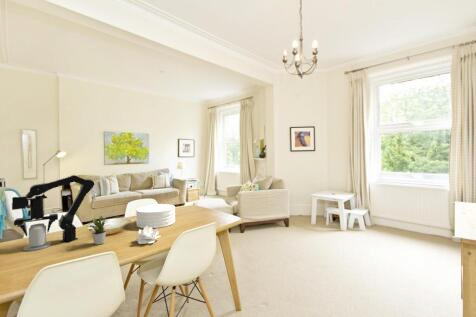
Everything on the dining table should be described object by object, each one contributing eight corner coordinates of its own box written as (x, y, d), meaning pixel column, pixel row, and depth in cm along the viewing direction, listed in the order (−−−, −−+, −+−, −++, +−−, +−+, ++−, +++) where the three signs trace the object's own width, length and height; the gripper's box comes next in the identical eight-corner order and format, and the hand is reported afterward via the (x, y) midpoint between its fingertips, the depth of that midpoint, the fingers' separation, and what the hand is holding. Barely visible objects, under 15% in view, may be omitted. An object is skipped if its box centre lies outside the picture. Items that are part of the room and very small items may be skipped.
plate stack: (182, 220, 185) (182, 206, 185) (152, 230, 161) (152, 214, 161) (159, 216, 200) (158, 202, 200) (128, 224, 176) (128, 209, 176)
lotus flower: (137, 247, 132) (137, 231, 132) (132, 239, 144) (132, 225, 144) (163, 241, 140) (163, 227, 140) (156, 234, 152) (156, 221, 152)
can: (36, 248, 129) (36, 226, 129) (25, 247, 131) (25, 226, 131) (49, 243, 137) (49, 222, 137) (39, 242, 138) (38, 222, 138)
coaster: (56, 243, 138) (56, 242, 138) (34, 252, 127) (34, 250, 127) (40, 242, 141) (40, 241, 141) (17, 250, 129) (17, 248, 129)
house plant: (87, 240, 144) (86, 213, 144) (112, 236, 149) (112, 211, 149) (82, 248, 131) (81, 219, 131) (110, 244, 136) (109, 216, 136)
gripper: (57, 202, 146) (58, 227, 146) (16, 206, 134) (17, 234, 135) (57, 205, 137) (58, 232, 137) (13, 210, 126) (14, 239, 126)
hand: (37, 234), depth 134 cm, fingers open, 9 cm apart
